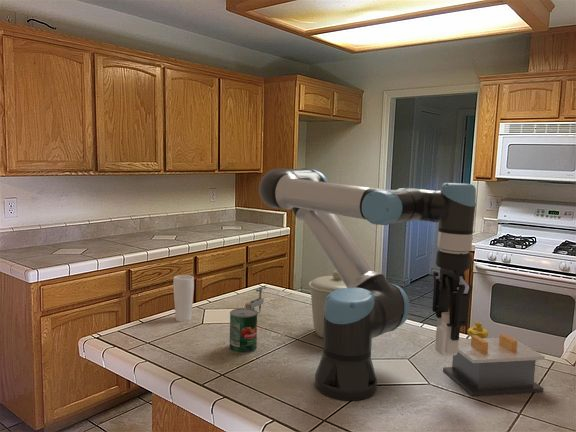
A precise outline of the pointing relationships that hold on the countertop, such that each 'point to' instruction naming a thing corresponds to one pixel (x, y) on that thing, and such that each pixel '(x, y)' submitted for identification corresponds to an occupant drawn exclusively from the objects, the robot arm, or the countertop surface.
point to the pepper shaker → (442, 335)
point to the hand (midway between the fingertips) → (446, 348)
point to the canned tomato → (243, 330)
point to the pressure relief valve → (478, 331)
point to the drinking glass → (183, 297)
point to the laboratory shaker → (494, 366)
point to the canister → (323, 297)
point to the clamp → (256, 300)
